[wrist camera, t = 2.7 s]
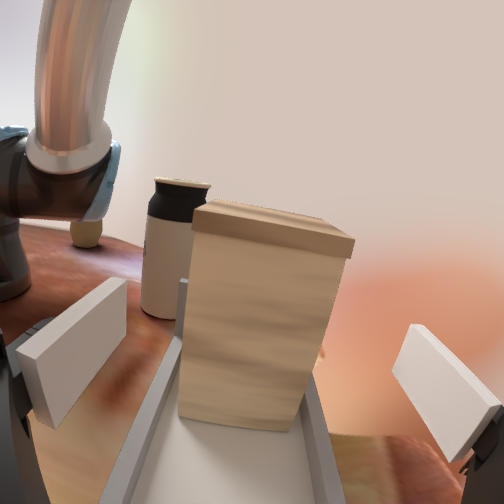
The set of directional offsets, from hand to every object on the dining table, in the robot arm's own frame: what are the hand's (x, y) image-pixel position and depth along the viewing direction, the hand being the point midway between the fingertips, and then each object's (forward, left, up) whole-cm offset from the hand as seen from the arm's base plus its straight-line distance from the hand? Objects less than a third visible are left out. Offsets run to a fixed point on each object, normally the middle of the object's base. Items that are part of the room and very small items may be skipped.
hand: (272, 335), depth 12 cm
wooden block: (-9, +3, -12) cm, 16 cm away
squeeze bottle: (-58, -19, -13) cm, 62 cm away
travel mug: (-29, -1, -13) cm, 32 cm away
